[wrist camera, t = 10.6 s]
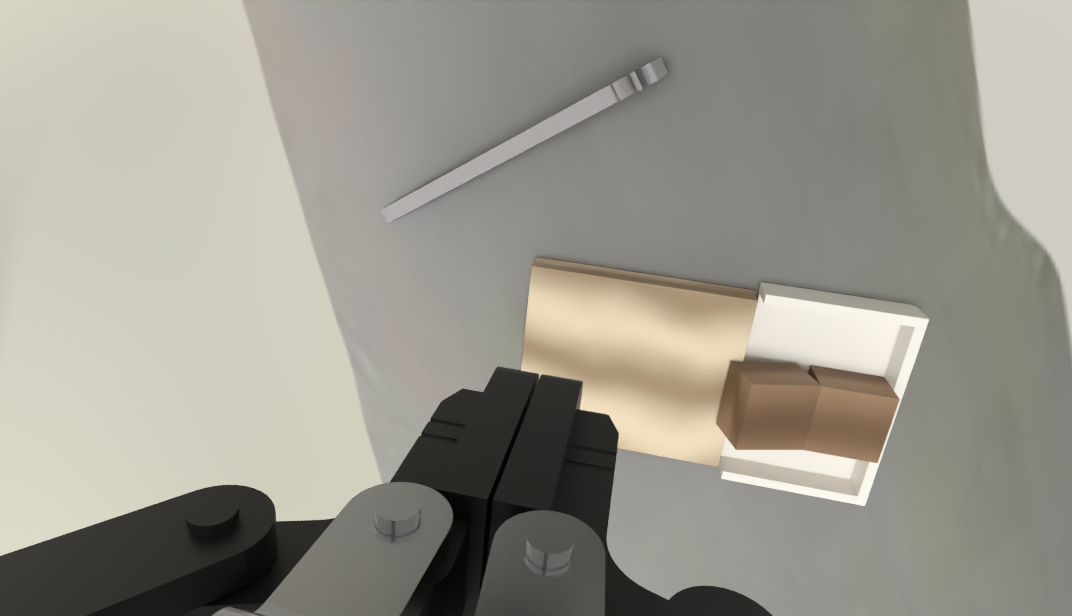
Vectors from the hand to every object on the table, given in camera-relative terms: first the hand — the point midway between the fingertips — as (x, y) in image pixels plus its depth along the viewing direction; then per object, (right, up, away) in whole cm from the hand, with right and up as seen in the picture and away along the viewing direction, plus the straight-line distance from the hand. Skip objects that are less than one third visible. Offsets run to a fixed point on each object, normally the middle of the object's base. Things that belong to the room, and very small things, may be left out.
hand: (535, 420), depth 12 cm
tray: (+18, -3, +32) cm, 37 cm away
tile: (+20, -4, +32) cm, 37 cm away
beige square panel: (+6, -1, +34) cm, 34 cm away
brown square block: (+14, -4, +31) cm, 34 cm away
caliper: (-1, +12, +31) cm, 33 cm away
